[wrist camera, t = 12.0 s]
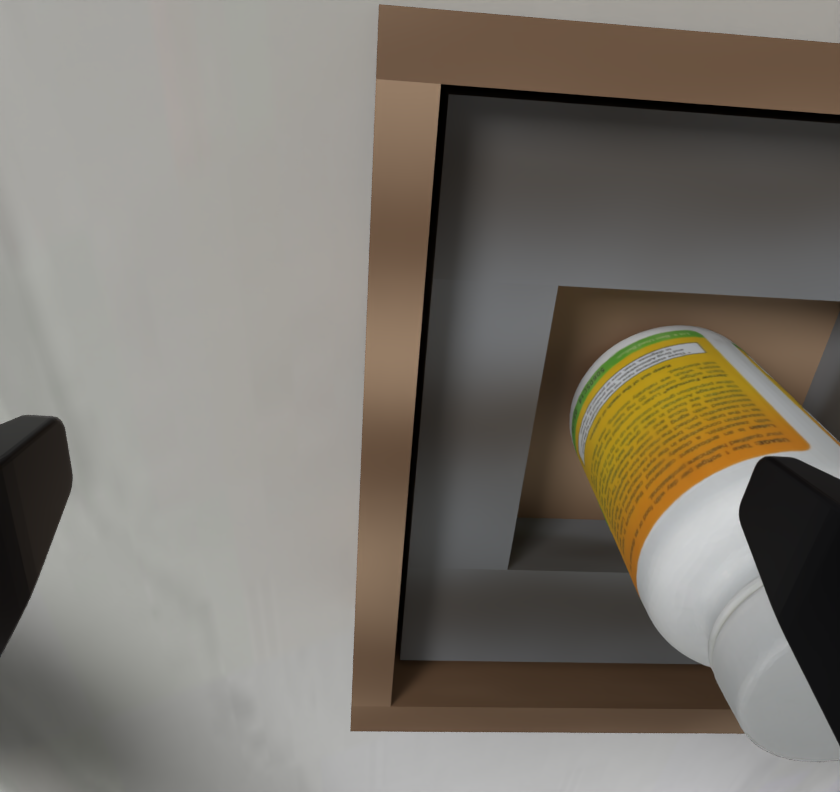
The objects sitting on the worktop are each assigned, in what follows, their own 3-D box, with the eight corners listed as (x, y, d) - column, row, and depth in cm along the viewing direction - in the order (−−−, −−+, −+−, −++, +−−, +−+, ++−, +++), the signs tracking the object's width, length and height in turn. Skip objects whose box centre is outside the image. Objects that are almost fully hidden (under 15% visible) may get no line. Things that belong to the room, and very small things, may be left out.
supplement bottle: (536, 456, 22) (641, 764, 13) (617, 295, 19) (816, 540, 10) (691, 497, 23) (887, 807, 14) (787, 350, 20) (1101, 614, 12)
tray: (809, 619, 28) (890, 734, 23) (356, 610, 26) (350, 731, 22) (1077, 65, 18) (1301, 82, 14) (380, 5, 17) (379, 4, 12)
